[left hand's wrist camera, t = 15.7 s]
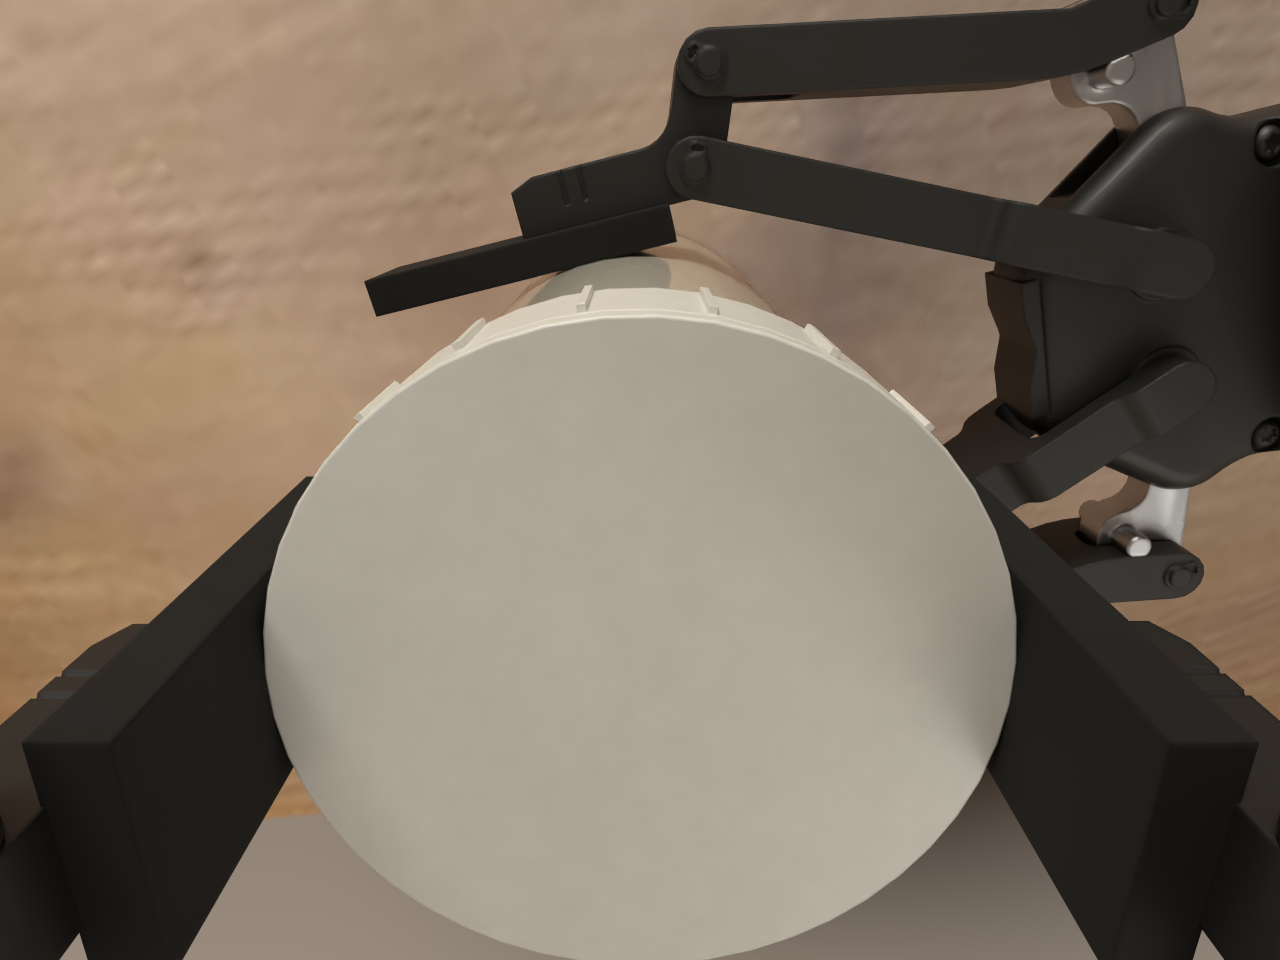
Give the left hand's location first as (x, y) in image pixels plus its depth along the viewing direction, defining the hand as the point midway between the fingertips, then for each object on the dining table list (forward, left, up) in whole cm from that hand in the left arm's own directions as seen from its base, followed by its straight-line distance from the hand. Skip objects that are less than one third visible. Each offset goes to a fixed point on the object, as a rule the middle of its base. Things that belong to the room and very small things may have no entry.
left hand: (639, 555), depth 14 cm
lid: (0, 0, +3) cm, 3 cm away
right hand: (-5, -1, -7) cm, 8 cm away
